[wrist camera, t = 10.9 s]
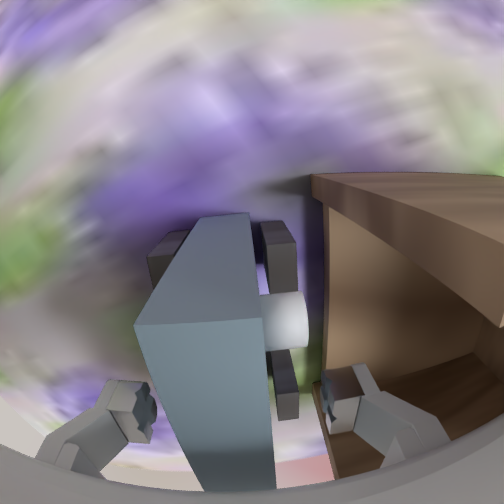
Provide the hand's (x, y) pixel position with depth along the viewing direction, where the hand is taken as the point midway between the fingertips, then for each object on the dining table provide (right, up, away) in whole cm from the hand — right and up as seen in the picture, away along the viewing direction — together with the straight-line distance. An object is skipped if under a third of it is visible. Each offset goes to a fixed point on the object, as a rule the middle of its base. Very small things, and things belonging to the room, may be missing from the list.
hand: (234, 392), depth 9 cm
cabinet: (+7, +2, +5) cm, 9 cm away
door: (0, +2, +5) cm, 6 cm away
